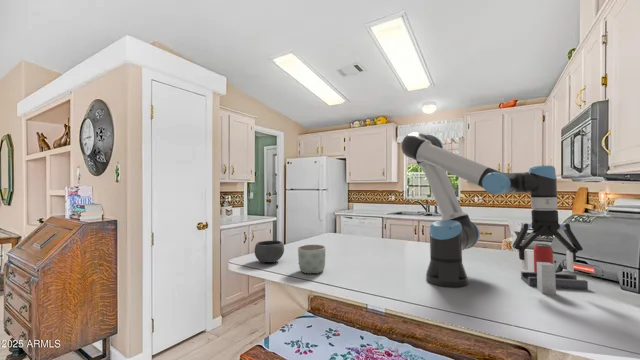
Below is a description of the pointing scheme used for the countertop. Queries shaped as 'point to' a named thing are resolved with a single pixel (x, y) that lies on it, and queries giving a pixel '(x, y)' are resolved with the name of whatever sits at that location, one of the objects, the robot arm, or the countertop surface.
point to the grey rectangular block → (546, 278)
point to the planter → (311, 258)
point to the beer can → (542, 254)
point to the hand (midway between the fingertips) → (547, 270)
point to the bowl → (269, 251)
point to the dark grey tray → (557, 280)
